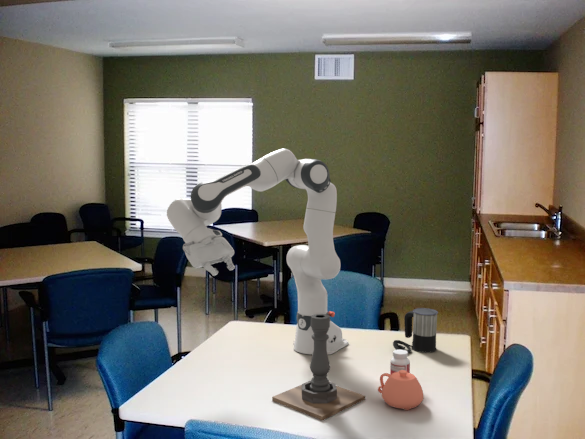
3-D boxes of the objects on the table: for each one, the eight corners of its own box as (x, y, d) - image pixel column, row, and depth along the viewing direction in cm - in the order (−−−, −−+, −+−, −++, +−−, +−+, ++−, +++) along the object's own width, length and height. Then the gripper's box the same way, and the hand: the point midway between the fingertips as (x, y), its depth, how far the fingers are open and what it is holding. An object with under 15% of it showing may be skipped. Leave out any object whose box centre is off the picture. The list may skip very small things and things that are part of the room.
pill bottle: (402, 380, 204) (402, 347, 203) (413, 386, 199) (414, 353, 197) (386, 383, 202) (386, 350, 200) (397, 389, 196) (398, 356, 195)
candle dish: (316, 382, 202) (316, 369, 202) (365, 399, 189) (365, 386, 188) (272, 400, 188) (272, 387, 187) (322, 420, 174) (322, 406, 174)
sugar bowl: (414, 416, 177) (415, 381, 176) (369, 405, 185) (370, 372, 183) (429, 401, 188) (430, 368, 186) (386, 391, 195) (386, 360, 194)
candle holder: (329, 401, 184) (329, 319, 181) (308, 400, 185) (308, 318, 182) (331, 393, 190) (331, 313, 187) (311, 391, 191) (311, 313, 188)
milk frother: (440, 348, 236) (441, 310, 234) (425, 360, 223) (426, 319, 221) (405, 341, 244) (406, 304, 242) (388, 352, 231) (389, 313, 229)
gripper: (185, 238, 198) (211, 271, 194) (222, 230, 216) (246, 260, 212) (175, 250, 200) (200, 283, 197) (212, 242, 218) (236, 272, 215)
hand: (224, 271), depth 205 cm, fingers open, 8 cm apart
